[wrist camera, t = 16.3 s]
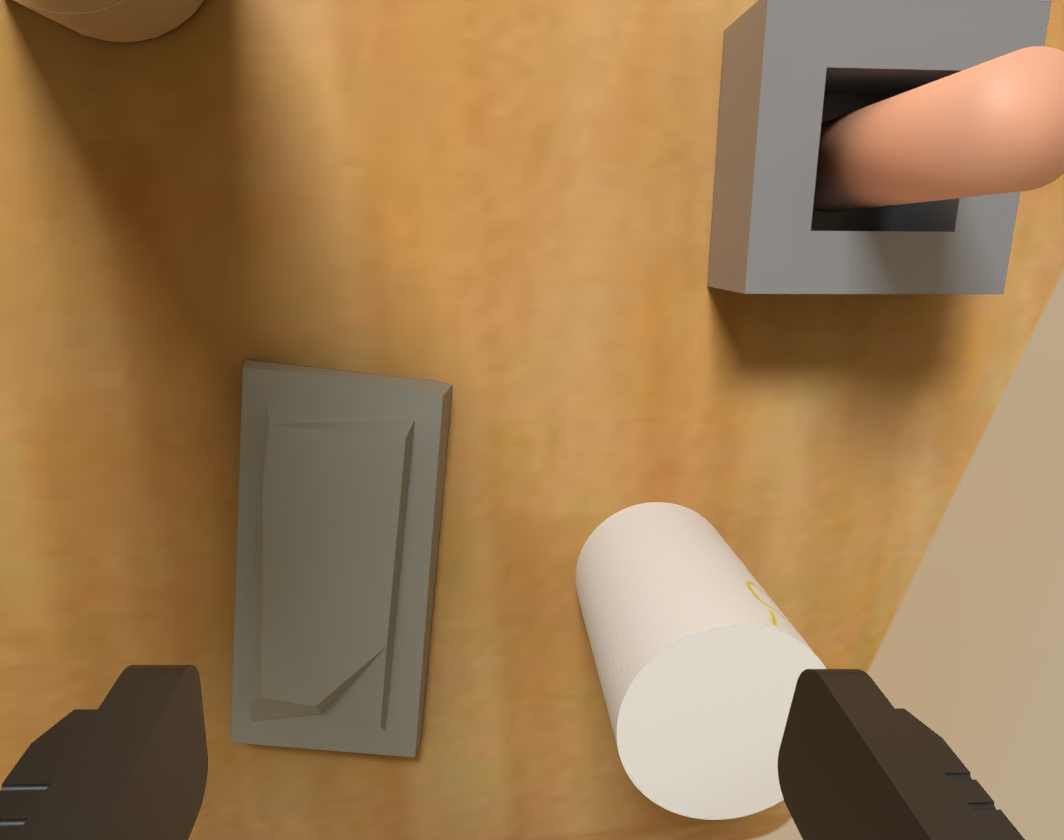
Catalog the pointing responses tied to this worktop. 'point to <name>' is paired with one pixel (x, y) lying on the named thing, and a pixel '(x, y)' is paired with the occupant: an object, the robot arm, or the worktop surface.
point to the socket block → (794, 134)
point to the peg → (950, 137)
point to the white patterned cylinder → (689, 661)
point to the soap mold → (336, 557)
